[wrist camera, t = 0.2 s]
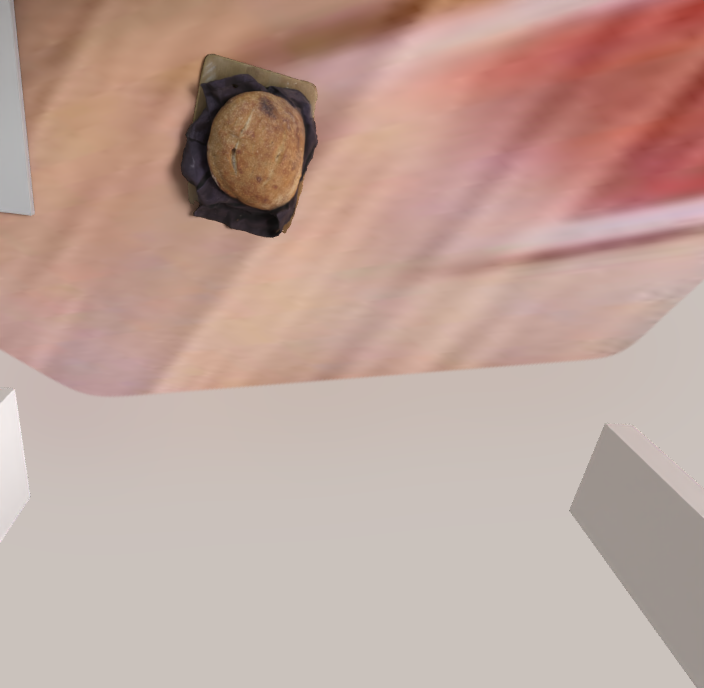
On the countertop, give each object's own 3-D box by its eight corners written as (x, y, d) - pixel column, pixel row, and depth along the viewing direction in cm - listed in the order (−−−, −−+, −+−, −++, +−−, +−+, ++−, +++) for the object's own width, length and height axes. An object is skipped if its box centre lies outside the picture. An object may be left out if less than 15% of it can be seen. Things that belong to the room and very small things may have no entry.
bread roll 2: (200, 48, 32) (190, 39, 28) (329, 88, 34) (333, 85, 30) (177, 213, 36) (166, 223, 32) (293, 242, 37) (294, 254, 34)
